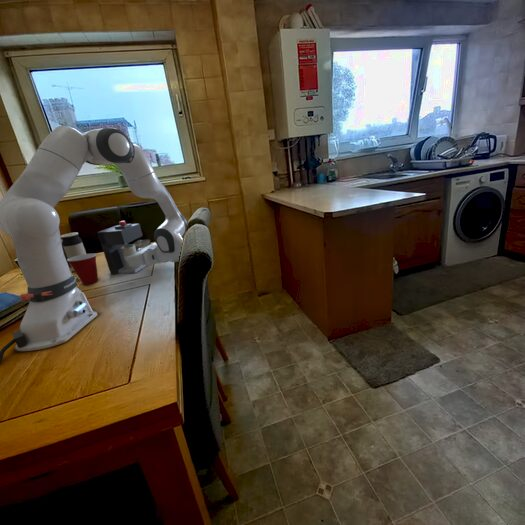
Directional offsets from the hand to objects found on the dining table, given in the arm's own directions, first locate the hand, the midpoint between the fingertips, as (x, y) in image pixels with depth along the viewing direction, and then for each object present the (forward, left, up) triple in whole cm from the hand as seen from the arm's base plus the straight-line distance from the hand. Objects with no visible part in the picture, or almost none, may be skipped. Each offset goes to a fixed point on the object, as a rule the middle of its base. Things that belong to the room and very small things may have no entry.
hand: (131, 254), depth 128 cm
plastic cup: (-9, +16, -8) cm, 20 cm away
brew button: (0, 0, +14) cm, 14 cm away
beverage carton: (+23, +4, -8) cm, 24 cm away
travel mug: (+12, +30, -8) cm, 33 cm away
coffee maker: (+1, +2, -7) cm, 8 cm away
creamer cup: (0, +1, -6) cm, 6 cm away
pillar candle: (+22, +38, -8) cm, 45 cm away
